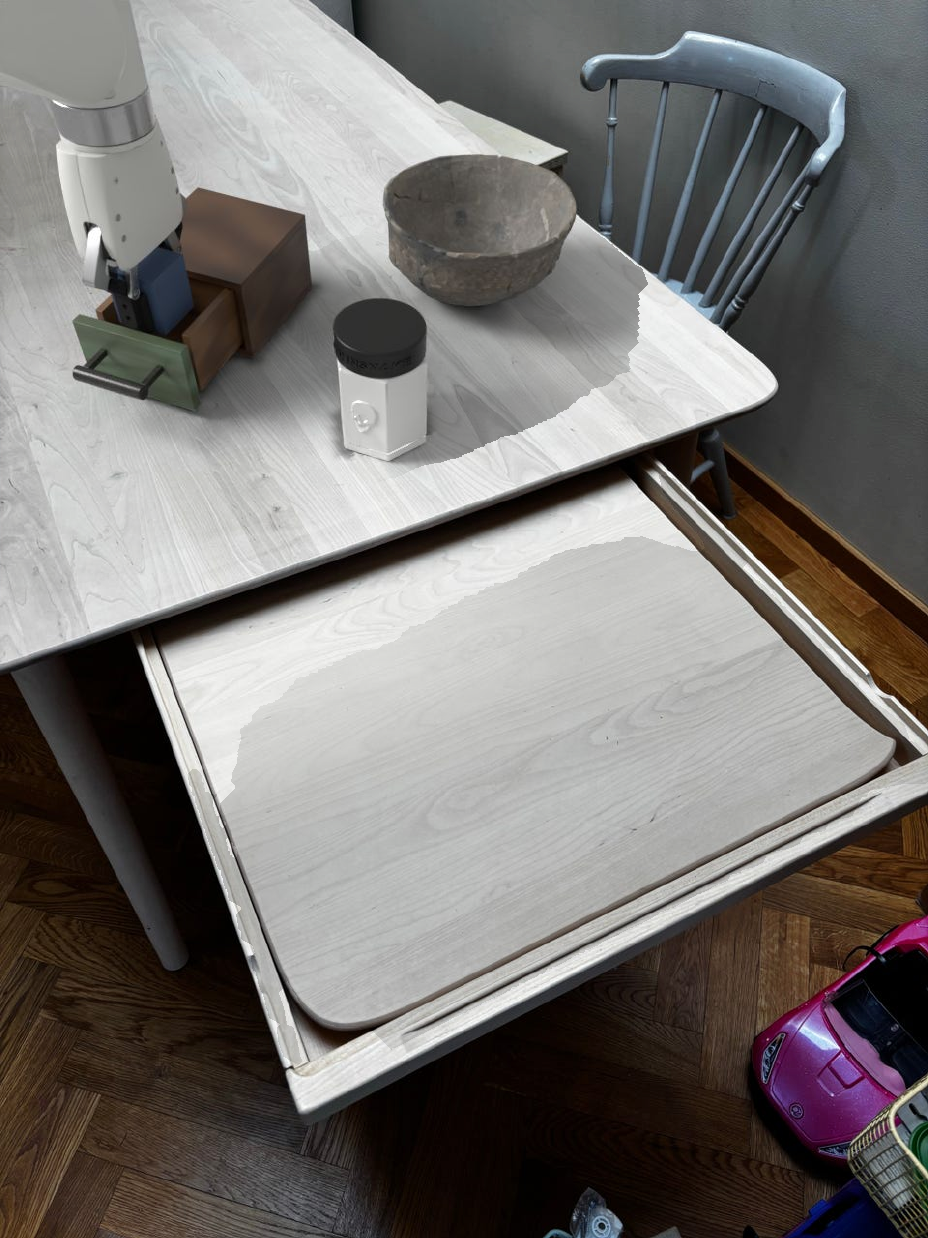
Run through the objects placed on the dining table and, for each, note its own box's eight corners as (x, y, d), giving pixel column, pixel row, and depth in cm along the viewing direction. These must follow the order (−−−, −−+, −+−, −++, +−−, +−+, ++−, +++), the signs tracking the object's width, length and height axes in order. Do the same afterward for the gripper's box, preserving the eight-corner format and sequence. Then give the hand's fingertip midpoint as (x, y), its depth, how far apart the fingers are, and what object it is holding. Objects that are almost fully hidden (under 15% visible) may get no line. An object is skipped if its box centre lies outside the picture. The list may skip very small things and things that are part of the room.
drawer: (171, 439, 85) (154, 381, 79) (66, 406, 87) (43, 347, 81) (257, 337, 94) (248, 278, 89) (161, 309, 96) (146, 250, 91)
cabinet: (253, 358, 94) (240, 284, 87) (146, 327, 96) (125, 252, 89) (312, 287, 101) (305, 214, 94) (212, 260, 104) (197, 186, 97)
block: (166, 335, 84) (152, 282, 80) (119, 322, 85) (103, 269, 81) (194, 306, 87) (182, 253, 83) (148, 293, 88) (134, 240, 84)
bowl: (523, 221, 111) (532, 138, 103) (595, 320, 100) (611, 236, 92) (360, 248, 106) (356, 163, 98) (416, 355, 95) (416, 269, 87)
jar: (322, 444, 87) (311, 338, 77) (358, 392, 91) (352, 286, 82) (409, 471, 85) (409, 366, 75) (441, 417, 90) (445, 312, 80)
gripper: (123, 59, 77) (169, 256, 91) (-7, 150, 67) (68, 353, 82) (202, 77, 76) (236, 274, 90) (81, 172, 66) (141, 375, 80)
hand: (155, 310), depth 86 cm, fingers closed on block, 5 cm apart
